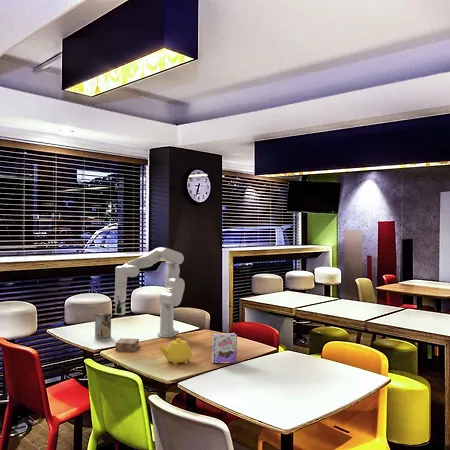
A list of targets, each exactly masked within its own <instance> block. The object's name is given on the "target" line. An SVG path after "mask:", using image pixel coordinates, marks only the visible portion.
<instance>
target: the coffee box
mask: <svg viewBox="0 0 450 450" xmlns="http://www.w3.org/2000/svg"><path fill="white" fill-rule="evenodd" d="M94 316H95V317H94V321H95V324H94V338H95V339H97V340H98V339H99V340H102V339H106V338H111V336H112V313H108V312H106V313H104V312H103V313H98V314H95V315H94Z"/></svg>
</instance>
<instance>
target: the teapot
mask: <svg viewBox="0 0 450 450" xmlns="http://www.w3.org/2000/svg"><path fill="white" fill-rule="evenodd" d="M158 349H159V351H160V352H161V353H162V354H163V355H164V357H165V359H166V360H167V361H170V362H169V363H172V365H173V364H179V363H183V362H184V363H186V362H188V361H190V359H191V358H192V356H193V355H192V353H193V351H192V349H191V347H190V345H189V343H188V342H187V341H186V340H184V339H182V338H179V337H177V338H175V340H171V341H170V342H169V343H168V345H167V347H166V348H165V347H164V345H160V346H159V347H158ZM184 363H183V364H184Z"/></svg>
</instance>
